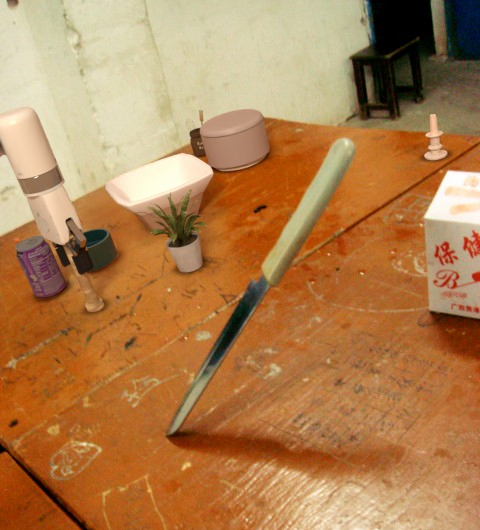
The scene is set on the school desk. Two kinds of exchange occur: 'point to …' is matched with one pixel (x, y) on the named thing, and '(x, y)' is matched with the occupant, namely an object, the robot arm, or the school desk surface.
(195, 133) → the utensil holder
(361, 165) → the school desk surface
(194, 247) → the house plant
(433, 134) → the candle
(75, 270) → the muddler
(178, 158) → the bowl
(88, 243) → the mixing bowl
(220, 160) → the container
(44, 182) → the robot arm
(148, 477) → the school desk surface
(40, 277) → the beverage can
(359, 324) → the school desk surface
